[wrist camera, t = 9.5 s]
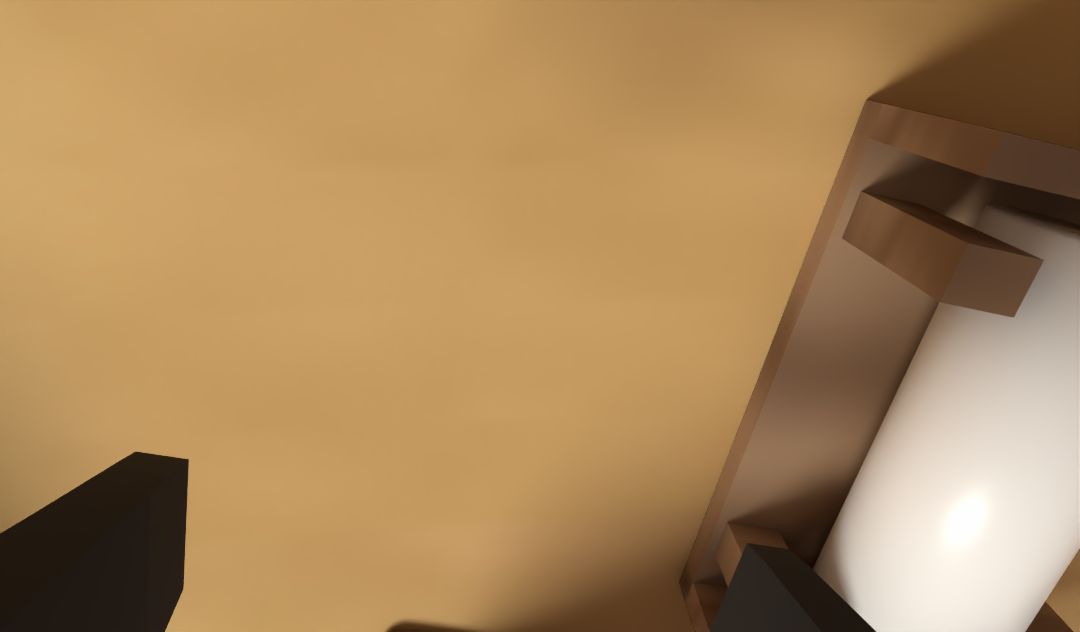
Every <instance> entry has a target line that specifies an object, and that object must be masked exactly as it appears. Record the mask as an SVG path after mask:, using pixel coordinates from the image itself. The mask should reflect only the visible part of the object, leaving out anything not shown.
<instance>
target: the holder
mask: <svg viewBox="0 0 1080 632" xmlns="http://www.w3.org/2000/svg"><path fill="white" fill-rule="evenodd" d="M987 204H993V205H1001V206H1007V207H1012V208H1017V209H1022V210H1026V211H1031V212H1035V213H1039V214H1043V215H1047V216H1051V217H1055V218H1059V219H1063V220H1067V221H1071V222H1075V223H1078V224H1080V150H1077V149H1073V148H1068V147H1064V146H1060V145H1056V144H1052V143H1048V142H1044V141H1040V140H1036V139H1032V138H1028V137H1024V136H1020V135H1016V134H1012V133H1007V132H1003V131H999V130H995V129H990V128H986V127H982V126H977V125H973V124H969V123H965V122H960V121H956V120H952V119H947V118H943V117H939V116H934V115H930V114H926V113H921V112H917V111H913V110H908V109H904V108H900V107H896V106H891V105H887V104H883V103H878V102H874V101H870V100H866V102H865V105H864V107H863V110H862V112H861V115H860V117H859V120H858V123H857V125H856V128H855V130H854V133H853V136H852V138H851V141H850V143H849V146H848V148H847V151H846V154H845V156H844V159H843V161H842V164H841V166H840V169H839V172H838V174H837V177H836V179H835V182H834V185H833V187H832V190H831V192H830V195H829V197H828V200H827V203H826V205H825V208H824V210H823V213H822V216H821V218H820V221H819V223H818V226H817V228H816V231H815V234H814V236H813V239H812V241H811V244H810V246H809V249H808V252H807V254H806V257H805V259H804V262H803V265H802V267H801V270H800V272H799V275H798V277H797V280H796V283H795V285H794V288H793V290H792V293H791V296H790V298H789V301H788V303H787V306H786V308H785V311H784V314H783V316H782V319H781V321H780V324H779V327H778V329H777V332H776V334H775V337H774V339H773V342H772V345H771V347H770V350H769V352H768V355H767V357H766V360H765V363H764V365H763V368H762V370H761V373H760V376H759V378H758V381H757V383H756V386H755V388H754V391H753V394H752V396H751V399H750V401H749V404H748V407H747V409H746V412H745V414H744V417H743V419H742V422H741V425H740V427H739V430H738V432H737V435H736V437H735V440H734V443H733V445H732V448H731V450H730V453H729V456H728V458H727V461H726V463H725V466H724V468H723V471H722V474H721V476H720V479H719V481H718V484H717V487H716V489H715V492H714V494H713V497H712V499H711V502H710V505H709V507H708V510H707V512H706V515H705V518H704V520H703V523H702V525H701V528H700V530H699V533H698V536H697V538H696V541H695V543H694V546H693V548H692V551H691V554H690V556H689V559H688V561H687V564H686V567H685V569H684V572H683V574H682V577H681V579H680V582H679V584H680V588H681V591H682V594H683V597H684V600H685V603H686V607H687V610H688V613H689V616H690V619H691V622H692V626H693V629H694V632H709V631H710V629H711V627H712V624H713V622H714V620H715V617H716V615H717V613H718V610H719V608H720V605H721V603H722V601H723V598H724V596H725V594H726V591H727V589H728V587H729V584H730V582H731V579H732V577H733V575H734V572H735V570H736V568H737V565H738V563H739V561H740V558H741V556H742V553H743V551H744V549H745V546H746V544H747V543H751V544H758V545H765V546H771V547H778V548H785V549H790V550H791V551H792V552H793V553H794V554H795V555H797V556H798V557H799V558H800V559H801V560H802V561H803V562H805V563H806V564H807V565H808V566H809V567H810V568H811V569H813V567H814V565H815V563H816V561H817V559H818V557H819V555H820V553H821V550H822V548H823V546H824V544H825V542H826V540H827V538H828V536H829V534H830V531H831V529H832V527H833V525H834V523H835V521H836V519H837V517H838V515H839V513H840V510H841V508H842V506H843V504H844V502H845V500H846V498H847V496H848V494H849V492H850V489H851V487H852V485H853V483H854V481H855V479H856V477H857V475H858V473H859V470H860V468H861V466H862V464H863V462H864V460H865V458H866V456H867V454H868V452H869V449H870V447H871V445H872V443H873V441H874V439H875V437H876V435H877V433H878V431H879V428H880V426H881V424H882V422H883V420H884V418H885V416H886V414H887V412H888V409H889V407H890V405H891V403H892V401H893V399H894V397H895V395H896V393H897V391H898V388H899V386H900V384H901V382H902V380H903V378H904V376H905V374H906V372H907V370H908V367H909V365H910V363H911V361H912V359H913V357H914V355H915V353H916V351H917V348H918V346H919V344H920V342H921V340H922V338H923V336H924V334H925V332H926V330H927V327H928V325H929V323H930V321H931V319H932V317H933V315H934V313H935V311H936V309H937V306H938V304H939V302H940V303H945V304H950V305H955V306H960V307H965V308H969V309H974V310H979V311H984V312H989V313H994V314H999V315H1003V316H1008V317H1013V318H1014V317H1015V315H1016V313H1017V311H1018V309H1019V307H1020V305H1021V303H1022V301H1023V299H1024V297H1025V296H1026V294H1027V292H1028V290H1029V288H1030V286H1031V284H1032V282H1033V280H1034V278H1035V277H1036V275H1037V273H1038V271H1039V269H1040V267H1041V265H1042V263H1043V261H1044V260H1043V259H1040V258H1038V257H1036V256H1034V255H1032V254H1029V253H1027V252H1025V251H1023V250H1020V249H1018V248H1016V247H1014V246H1012V245H1009V244H1007V243H1005V242H1003V241H1001V240H998V239H996V238H994V237H992V236H989V235H987V234H985V233H983V232H981V231H978V230H976V229H975V226H976V224H977V222H978V220H979V218H980V216H981V214H982V212H983V210H984V208H985V205H987ZM1026 632H1073V631H1072V630H1071V629H1070V628H1069V627H1068V625H1067V624H1066V623H1065V622H1064V621H1063V620H1062V619H1061V618H1060V617H1059V616H1058V615H1057V614H1056V613H1055V611H1054V610H1053V609H1052V608H1051V607H1050V606H1049V605H1048V604H1047V603H1046V602H1044V604H1043V605H1042V607H1041V609H1040V610H1039V612H1038V613H1037V615H1036V616H1035V618H1034V619H1033V621H1032V622H1031V624H1030V625H1029V627H1028V628H1027V630H1026Z"/></svg>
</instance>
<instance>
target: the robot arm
mask: <svg viewBox="0 0 1080 632" xmlns="http://www.w3.org/2000/svg"><path fill="white" fill-rule="evenodd" d="M188 462H189V460H188V459H182V458H175V457H168V456H162V455H155V454H148V453H142V452H134V453H133V454H131V455H129V456H127V457H126V458H124V459H122V460H121V461H119V462H117V463H116V464H114V465H112V466H111V467H109V468H107V469H106V470H104V471H103V472H101V473H99V474H98V475H96V476H94V477H93V478H91V479H89V480H88V481H86V482H85V483H83V484H81V485H80V486H78V487H76V488H75V489H73V490H71V491H70V492H68V493H67V494H65V495H63V496H62V497H60V498H58V499H57V500H55V501H54V502H52V503H50V504H49V505H47V506H45V507H44V508H42V509H40V510H39V511H37V512H35V513H34V514H32V515H31V516H29V517H27V518H26V519H24V520H22V521H21V522H19V523H17V524H16V525H14V526H12V527H11V528H9V529H7V530H6V531H4V532H2V533H0V632H165V630H166V628H167V625H168V623H169V621H170V618H171V616H172V614H173V611H174V609H175V607H176V604H177V602H178V600H179V598H180V595H181V593H182V591H183V584H184V560H185V535H186V511H187V487H188ZM709 632H876V631H875V630H874V629H873V628H872V627H871V626H870V625H869V624H868V623H867V622H866V621H865V620H864V619H863V618H862V617H861V616H860V615H859V614H858V613H857V612H856V611H855V610H854V609H853V608H852V607H851V606H850V605H849V604H848V603H847V602H846V601H845V600H844V599H843V598H842V597H841V596H839V595H838V594H837V593H836V592H835V591H834V590H833V589H832V588H831V587H830V586H829V585H828V584H827V583H826V582H825V581H824V580H823V579H822V578H821V577H820V576H819V575H818V574H817V573H815V572H814V571H813V570H812V569H811V568H810V567H809V566H808V565H807V564H806V563H805V562H803V561H802V560H801V559H800V558H799V557H798V556H797V555H795V554H794V553H793V552H792V551H791V550H790V549H785V548H778V547H771V546H765V545H758V544H751V543H747V544H746V546H745V549H744V551H743V553H742V556H741V558H740V561H739V563H738V565H737V568H736V570H735V572H734V575H733V577H732V579H731V582H730V584H729V587H728V589H727V591H726V594H725V596H724V598H723V601H722V603H721V605H720V608H719V610H718V613H717V615H716V617H715V620H714V622H713V624H712V627H711V629H710V631H709Z"/></svg>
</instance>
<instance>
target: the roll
mask: <svg viewBox="0 0 1080 632" xmlns="http://www.w3.org/2000/svg"><path fill="white" fill-rule="evenodd" d="M975 229H976V230H978V231H981V232H983V233H985V234H987V235H989V236H992V237H994V238H996V239H998V240H1001V241H1003V242H1005V243H1007V244H1009V245H1012V246H1014V247H1016V248H1018V249H1020V250H1023V251H1025V252H1027V253H1029V254H1032V255H1034V256H1036V257H1038V258H1040V259H1043V260H1044V261H1043V263H1042V265H1041V267H1040V269H1039V271H1038V273H1037V275H1036V277H1035V278H1034V280H1033V282H1032V284H1031V286H1030V288H1029V290H1028V292H1027V294H1026V296H1025V297H1024V299H1023V301H1022V303H1021V305H1020V307H1019V309H1018V311H1017V313H1016V315H1015V317H1014V318H1013V317H1008V316H1003V315H999V314H994V313H989V312H984V311H979V310H974V309H969V308H965V307H960V306H955V305H950V304H945V303H940V302H939V304H938V306H937V309H936V311H935V313H934V315H933V317H932V319H931V321H930V323H929V325H928V327H927V330H926V332H925V334H924V336H923V338H922V340H921V342H920V344H919V346H918V348H917V351H916V353H915V355H914V357H913V359H912V361H911V363H910V365H909V367H908V370H907V372H906V374H905V376H904V378H903V380H902V382H901V384H900V386H899V388H898V391H897V393H896V395H895V397H894V399H893V401H892V403H891V405H890V407H889V409H888V412H887V414H886V416H885V418H884V420H883V422H882V424H881V426H880V428H879V431H878V433H877V435H876V437H875V439H874V441H873V443H872V445H871V447H870V449H869V452H868V454H867V456H866V458H865V460H864V462H863V464H862V466H861V468H860V470H859V473H858V475H857V477H856V479H855V481H854V483H853V485H852V487H851V489H850V492H849V494H848V496H847V498H846V500H845V502H844V504H843V506H842V508H841V510H840V513H839V515H838V517H837V519H836V521H835V523H834V525H833V527H832V529H831V531H830V534H829V536H828V538H827V540H826V542H825V544H824V546H823V548H822V550H821V553H820V555H819V557H818V559H817V561H816V563H815V565H814V567H813V569H812V570H813V571H814V572H815V573H817V574H818V575H819V576H820V577H821V578H822V579H823V580H824V581H825V582H826V583H827V584H828V585H829V586H830V587H831V588H832V589H833V590H834V591H835V592H836V593H837V594H838V595H839V596H841V597H842V598H843V599H844V600H845V601H846V602H847V603H848V604H849V605H850V606H851V607H852V608H853V609H854V610H855V611H856V612H857V613H858V614H859V615H860V616H861V617H862V618H863V619H864V620H865V621H866V622H867V623H868V624H869V625H870V626H871V627H872V628H873V629H874V630H875V631H876V632H1026V630H1027V628H1028V627H1029V625H1030V624H1031V622H1032V621H1033V619H1034V618H1035V616H1036V615H1037V613H1038V612H1039V610H1040V609H1041V607H1042V605H1043V604H1044V602H1045V601H1046V599H1047V598H1048V596H1049V595H1050V593H1051V592H1052V590H1053V589H1054V587H1055V585H1056V584H1057V582H1058V581H1059V579H1060V578H1061V576H1062V575H1063V573H1064V572H1065V570H1066V569H1067V567H1068V566H1069V564H1070V562H1071V561H1072V559H1073V558H1074V556H1075V555H1076V553H1077V552H1078V550H1079V549H1080V224H1078V223H1075V222H1071V221H1067V220H1063V219H1059V218H1055V217H1051V216H1047V215H1043V214H1039V213H1035V212H1031V211H1026V210H1022V209H1017V208H1012V207H1007V206H1001V205H993V204H987V205H985V208H984V210H983V212H982V214H981V216H980V218H979V220H978V222H977V224H976V226H975Z"/></svg>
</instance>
